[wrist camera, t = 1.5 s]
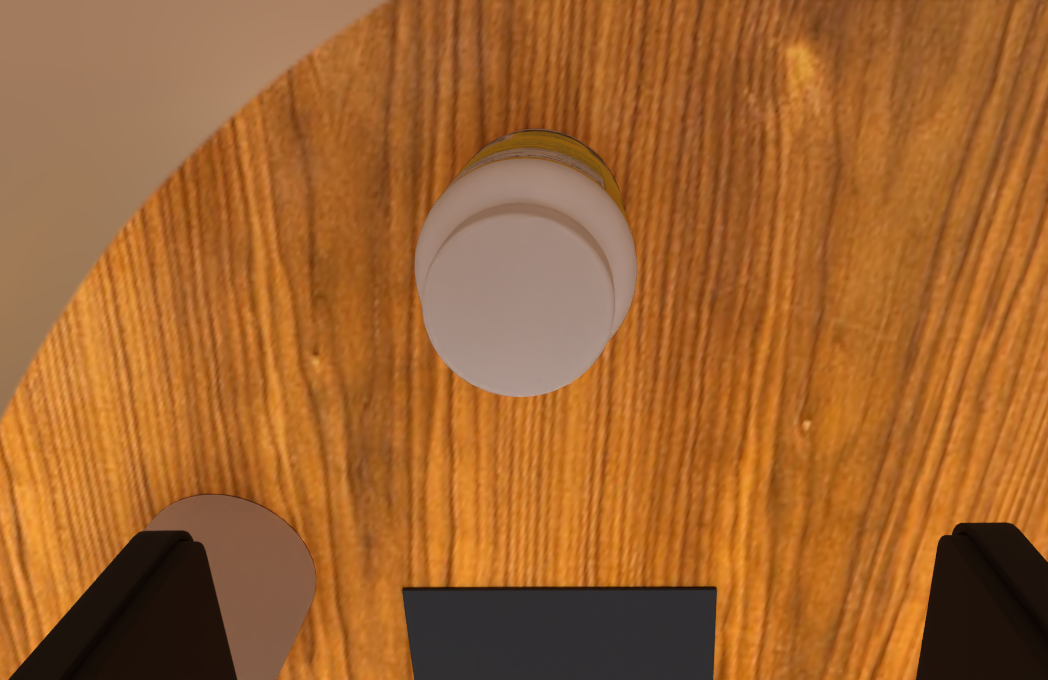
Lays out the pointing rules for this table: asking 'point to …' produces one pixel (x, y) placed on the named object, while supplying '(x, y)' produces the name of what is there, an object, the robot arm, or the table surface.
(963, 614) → the robot arm
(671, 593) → the mat
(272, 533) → the grey upright cylinder
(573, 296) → the pill bottle
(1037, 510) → the table surface
